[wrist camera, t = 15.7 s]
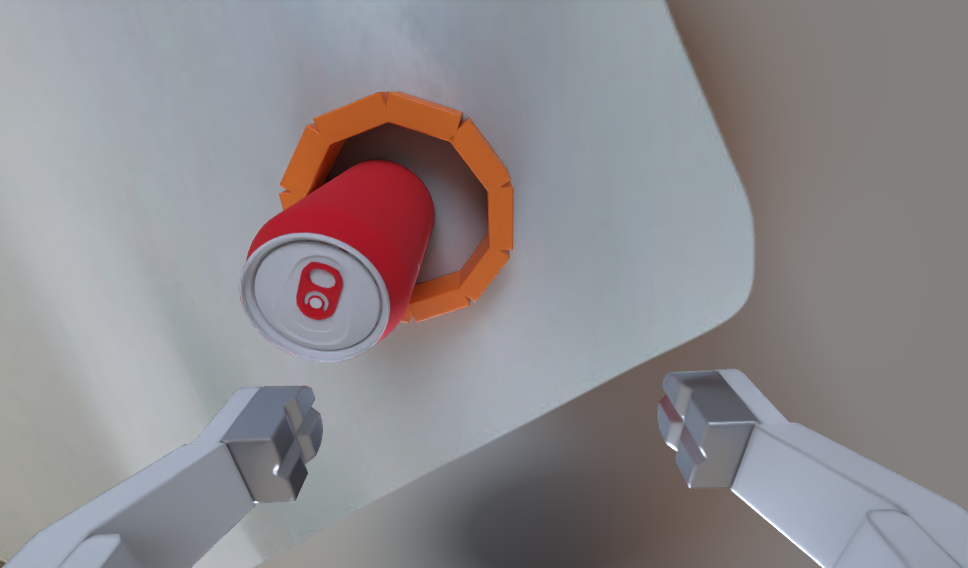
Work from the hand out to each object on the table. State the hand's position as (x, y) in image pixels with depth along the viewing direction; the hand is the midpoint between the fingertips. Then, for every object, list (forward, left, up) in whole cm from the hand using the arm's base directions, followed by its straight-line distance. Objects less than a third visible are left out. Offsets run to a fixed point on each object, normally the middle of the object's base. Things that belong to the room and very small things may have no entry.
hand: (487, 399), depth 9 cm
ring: (+5, 0, -17) cm, 18 cm away
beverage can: (+6, 0, -17) cm, 18 cm away
